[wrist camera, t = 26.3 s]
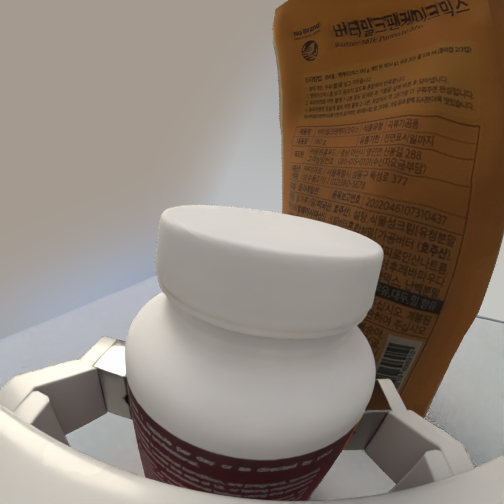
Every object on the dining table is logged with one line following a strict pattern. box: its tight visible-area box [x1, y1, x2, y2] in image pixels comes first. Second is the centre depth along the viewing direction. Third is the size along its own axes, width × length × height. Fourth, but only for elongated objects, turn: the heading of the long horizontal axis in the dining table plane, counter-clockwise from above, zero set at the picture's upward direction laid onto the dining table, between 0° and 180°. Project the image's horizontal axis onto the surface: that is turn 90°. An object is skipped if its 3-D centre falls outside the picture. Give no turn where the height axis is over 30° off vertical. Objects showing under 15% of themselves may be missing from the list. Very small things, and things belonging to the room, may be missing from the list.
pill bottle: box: [125, 205, 383, 501], centre depth 7 cm, size 6×6×11 cm
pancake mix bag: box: [272, 0, 504, 418], centre depth 14 cm, size 7×19×28 cm, turn 27°
